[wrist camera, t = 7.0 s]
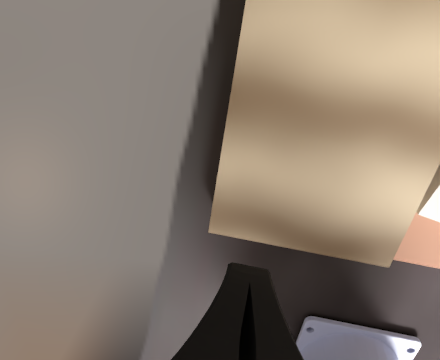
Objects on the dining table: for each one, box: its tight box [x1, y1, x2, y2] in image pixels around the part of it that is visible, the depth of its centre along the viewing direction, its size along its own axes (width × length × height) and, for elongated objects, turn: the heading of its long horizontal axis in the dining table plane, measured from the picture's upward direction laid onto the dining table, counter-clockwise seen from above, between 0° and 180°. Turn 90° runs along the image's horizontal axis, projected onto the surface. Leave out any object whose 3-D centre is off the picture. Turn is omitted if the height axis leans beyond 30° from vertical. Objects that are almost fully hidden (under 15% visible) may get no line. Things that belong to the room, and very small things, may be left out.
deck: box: [208, 0, 440, 268], centre depth 18 cm, size 14×10×2 cm
